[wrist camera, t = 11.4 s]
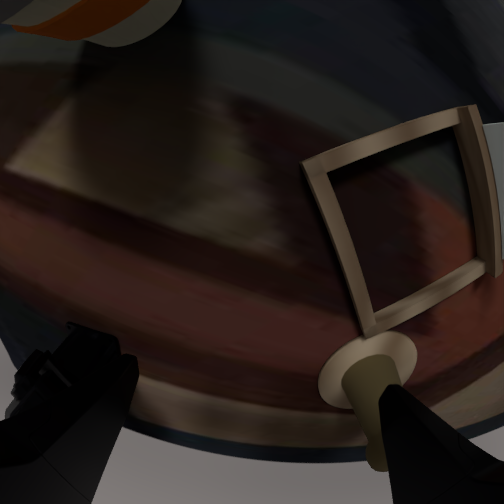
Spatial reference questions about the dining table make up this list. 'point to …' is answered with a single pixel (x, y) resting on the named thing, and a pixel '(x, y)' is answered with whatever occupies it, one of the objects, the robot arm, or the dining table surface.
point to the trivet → (358, 349)
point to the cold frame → (481, 194)
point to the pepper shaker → (370, 400)
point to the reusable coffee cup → (89, 18)
